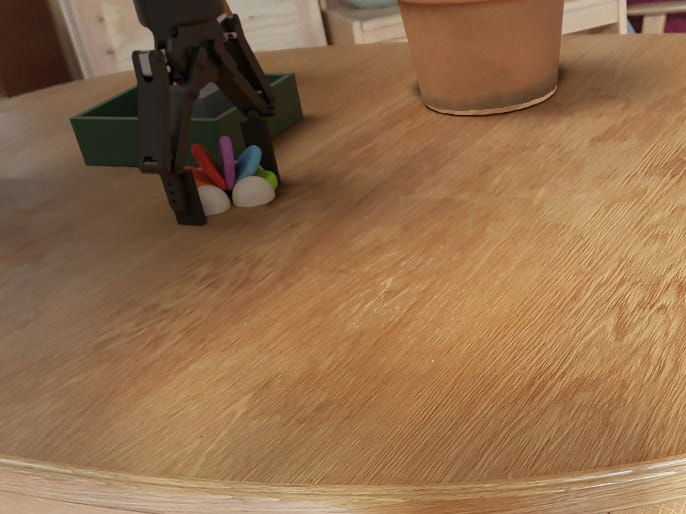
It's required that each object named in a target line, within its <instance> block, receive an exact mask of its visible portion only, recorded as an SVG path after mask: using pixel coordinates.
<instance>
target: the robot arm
mask: <svg viewBox="0 0 686 514" xmlns="http://www.w3.org/2000/svg"><path fill="white" fill-rule="evenodd" d="M132 3H133V7H134V10H135V14H136V18H137V20H138V22H139V24H140V25H141V26H142V27H144V28H146V29H148V30H149V31H150V32H151V34H152V36H153V45H154V46H153V49H139V50H138V49H137V50H133V51H131V61H132V65H133V71H134V75H135V79H136V85H137V106H138V153H139V166H138V169H139V172H140V173H141V174H143V175H158V176H159V178H160V179H161V182H162V185H163V189H164V192H165V195H166V198H167V202H168V205H169V207H170V208H171V211H173V213H174V216H175V220H176V223H177V225H179V226H193V227H194V226H195V227H204V226H205V225H206V224H208V220H207V216H205V213H204V210H203V206H202V203H201V199H200V196H199V192H198V189H197V185H196V182H195V178H194V175H193V171H192V169H185V161H186V154H187V147H188V140H189V132H190V125H191V118H192V111H193V103H194V100H196V99H197V98H198V97H199V94H200V89H202V88H204V87H206V86H207V84H208V83H209V82H211V81H213V82H214V83H215V85H216V86H217V87H218V88H219V89H220V90H221V91H222V92H223V93H224V95H225V96H226V97H227V98H228V99H229V100H230V101H231V102H232V103H233V105H234V106H235V107H236V108H237V109H238V110H239V111H240V112H241V113H242V115H243V116H244V117H248V120H242V121H240V122H239V123H240V127H241V131H242V135H243V139H244V143H245V147H246V149H247V148H248V147H250V146H253V145H255V146H257V147H259V148H260V149H261V160H260V163H259V165H260V166H261V167H262V169H263V170H266V171H271V172H273V173H274V174H275V176H276V178H277V181H278V185H277V187H279V186H280V185H282V180H281V176H280V172H279V167H278V163H277V159H276V155H275V149H274V146H273V145H274V144H273V139H272V138H271V134H270V129H269V125H268V121H267V117H275V115H276V108H275V106H270V105H275V104H276V101H277V98H276V95H275V93H274V91H273V89H272V87H271V85H270V83H269V81H268V79H267V78H266V76H265V74H264V73H265V72H264V70H263V68H262V66H261V65H260V63H259V61H258V59H257V57H256V54H255V53H254V51H253V49H252V47H251V46H250V44H249V42H248V40H247V38H246V36H245V33H244V30H243V26H242V22H241V19H240V16H239V14H238V13H236V12H235V13H232V14H223V13H224V11H225V3H224V0H132ZM174 81H175V83H176V84H177V85H173V83H174ZM257 90H261V92H257ZM171 155H172V156H173V158H172V160H171ZM152 157H154V159H152Z"/></svg>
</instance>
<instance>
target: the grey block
mask: <svg viewBox="0 0 686 514" xmlns="http://www.w3.org/2000/svg"><path fill="white" fill-rule="evenodd" d="M173 85H177V84H176V83H173ZM232 107H234V105H233V103H232V102H231V101H230V100H229V99H228V98H227V97H226V96H225V95H224V93H223V92H222V91H221V90H220V89H219V88H218V87H217V86H216V85H215V83H214V82H209V83H208V84H207V86H206V87H204V88H202V89H200V94H199V97H198V98H197V99H196V100H194V103H193V111H192V118H216V117H218V116H219V115H221V114H223V113H224V112H226V111H228V110H229V109H231V108H232Z"/></svg>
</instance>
